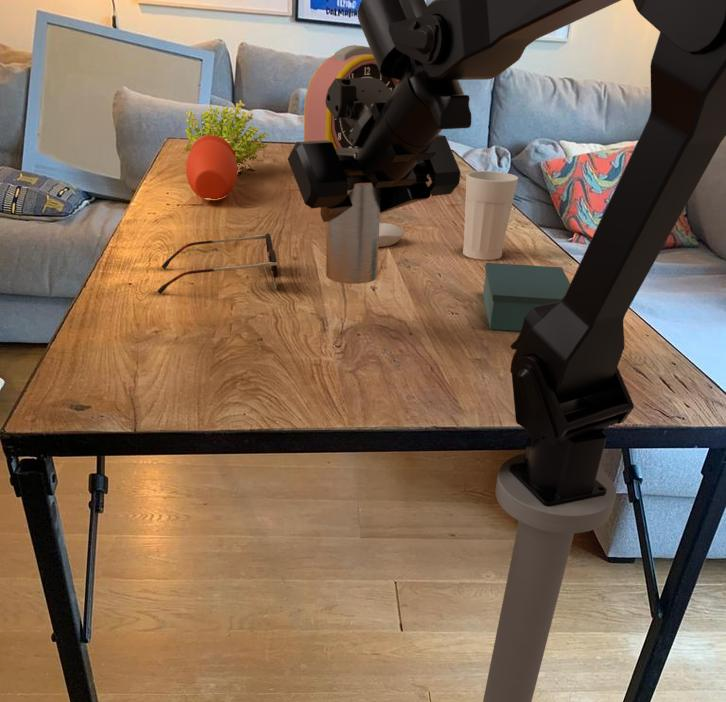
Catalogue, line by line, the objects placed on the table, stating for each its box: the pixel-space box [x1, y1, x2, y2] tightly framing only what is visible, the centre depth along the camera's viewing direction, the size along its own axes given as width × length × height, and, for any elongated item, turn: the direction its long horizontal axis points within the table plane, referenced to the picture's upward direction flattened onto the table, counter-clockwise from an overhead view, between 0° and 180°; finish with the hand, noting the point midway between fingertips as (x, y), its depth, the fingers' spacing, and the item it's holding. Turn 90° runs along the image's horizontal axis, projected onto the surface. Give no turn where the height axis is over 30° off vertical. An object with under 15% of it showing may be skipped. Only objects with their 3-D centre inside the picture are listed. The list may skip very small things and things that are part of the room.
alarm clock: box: [303, 44, 399, 149], centre depth 152 cm, size 21×9×26 cm, turn 128°
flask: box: [325, 148, 381, 285], centre depth 82 cm, size 6×6×14 cm
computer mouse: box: [378, 222, 405, 248], centre depth 121 cm, size 6×10×3 cm, turn 112°
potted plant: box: [183, 99, 269, 202], centre depth 154 cm, size 19×14×45 cm
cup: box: [462, 170, 519, 261], centre depth 116 cm, size 8×8×12 cm
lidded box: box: [482, 262, 571, 332], centre depth 95 cm, size 13×11×4 cm
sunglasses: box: [157, 233, 279, 294], centre depth 102 cm, size 14×16×5 cm
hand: (347, 215), depth 83 cm, fingers closed on flask, 6 cm apart
